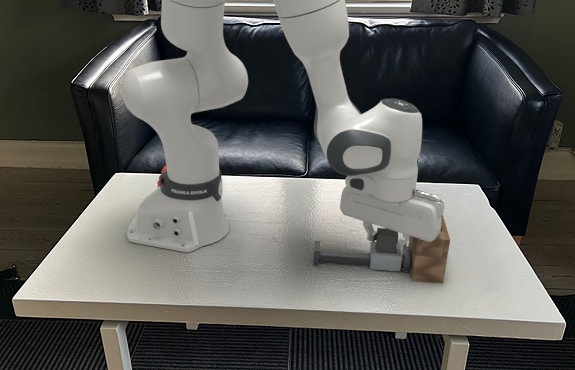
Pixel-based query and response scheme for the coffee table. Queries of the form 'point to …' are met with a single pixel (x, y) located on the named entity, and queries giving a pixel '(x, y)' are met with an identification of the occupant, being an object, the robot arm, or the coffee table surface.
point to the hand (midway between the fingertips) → (386, 244)
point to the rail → (352, 257)
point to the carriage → (385, 251)
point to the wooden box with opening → (429, 257)
